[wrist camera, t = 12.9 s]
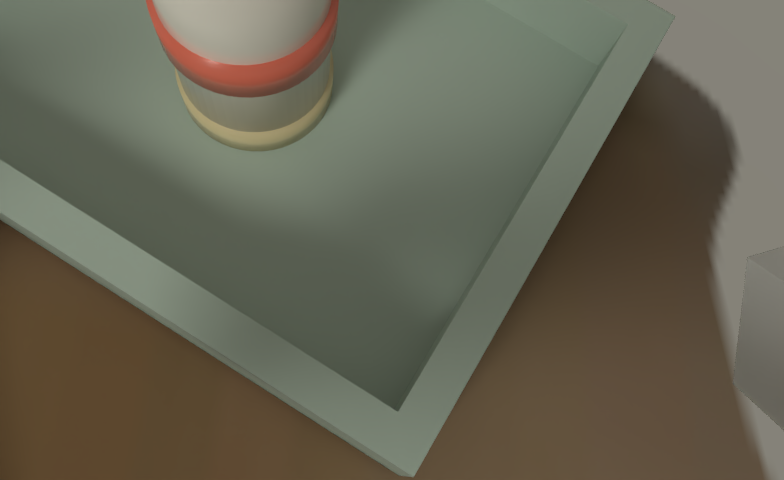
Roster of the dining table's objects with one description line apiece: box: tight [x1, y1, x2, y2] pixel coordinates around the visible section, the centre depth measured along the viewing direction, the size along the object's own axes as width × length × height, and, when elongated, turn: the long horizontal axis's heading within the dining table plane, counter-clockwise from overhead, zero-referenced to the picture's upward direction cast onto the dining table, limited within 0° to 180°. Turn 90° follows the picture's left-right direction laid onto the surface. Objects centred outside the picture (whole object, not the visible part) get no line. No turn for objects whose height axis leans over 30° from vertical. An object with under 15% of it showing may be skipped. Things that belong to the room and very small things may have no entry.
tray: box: [0, 0, 675, 477], centre depth 20 cm, size 18×14×3 cm
